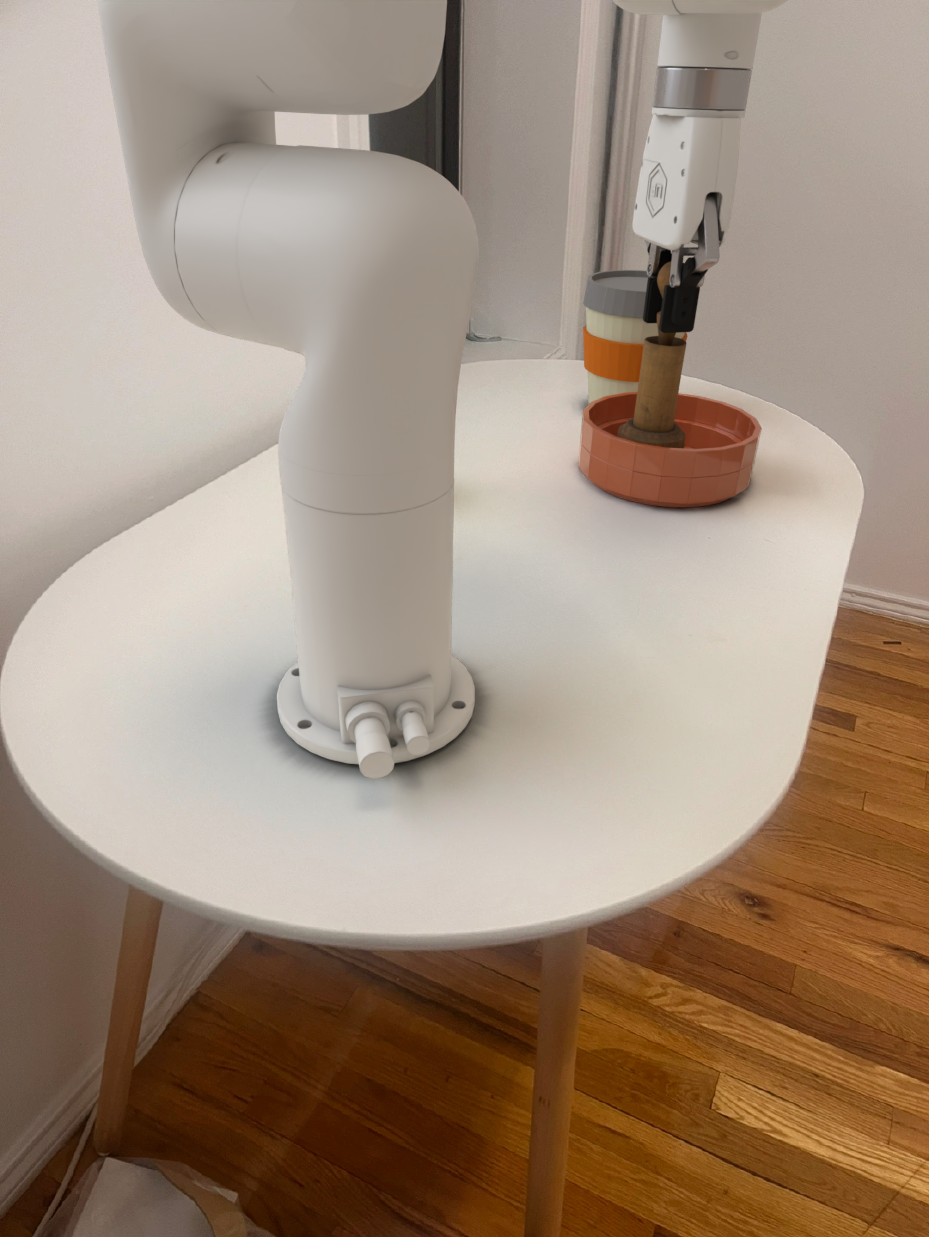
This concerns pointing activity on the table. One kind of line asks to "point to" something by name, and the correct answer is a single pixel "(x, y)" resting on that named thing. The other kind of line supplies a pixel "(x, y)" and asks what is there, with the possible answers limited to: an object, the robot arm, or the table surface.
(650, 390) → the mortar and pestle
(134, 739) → the table surface
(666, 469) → the bowl
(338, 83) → the robot arm
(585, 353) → the reusable coffee cup
